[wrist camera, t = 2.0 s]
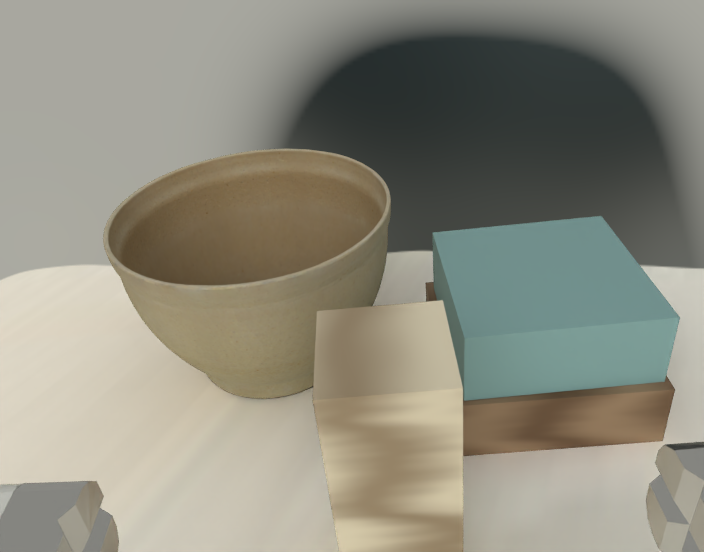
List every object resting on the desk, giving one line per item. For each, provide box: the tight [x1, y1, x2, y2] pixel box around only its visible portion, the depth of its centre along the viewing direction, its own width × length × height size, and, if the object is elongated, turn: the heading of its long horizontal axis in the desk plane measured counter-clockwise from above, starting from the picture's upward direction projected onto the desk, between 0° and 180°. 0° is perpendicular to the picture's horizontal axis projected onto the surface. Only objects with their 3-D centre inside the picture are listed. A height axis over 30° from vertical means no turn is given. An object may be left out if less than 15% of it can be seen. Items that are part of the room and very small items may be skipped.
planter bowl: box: [103, 149, 391, 399], centre depth 40 cm, size 16×16×11 cm
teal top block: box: [433, 216, 680, 401], centre depth 36 cm, size 10×10×4 cm
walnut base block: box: [426, 282, 675, 456], centre depth 38 cm, size 11×11×4 cm
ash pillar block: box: [313, 300, 463, 552], centre depth 27 cm, size 5×5×12 cm
